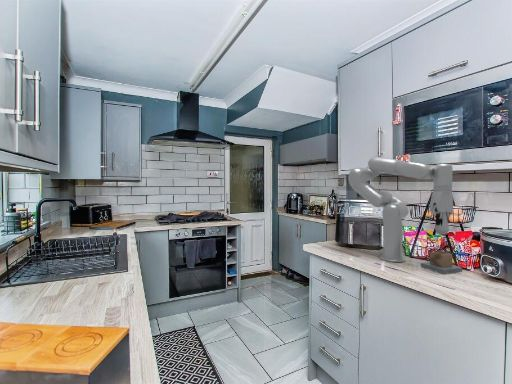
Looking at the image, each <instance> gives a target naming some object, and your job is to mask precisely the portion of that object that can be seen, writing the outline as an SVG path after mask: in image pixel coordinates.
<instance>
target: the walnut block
mask: <svg viewBox="0 0 512 384" xmlns="http://www.w3.org/2000/svg"><path fill="white" fill-rule="evenodd" d="M429 262H430V264H431V265H435V266H438V267H441V268H445V267H452V265H453V253H449V252H444V251H430V252H429Z"/></svg>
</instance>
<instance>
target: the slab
mask: <svg viewBox="0 0 512 384" xmlns="http://www.w3.org/2000/svg"><path fill="white" fill-rule="evenodd" d="M420 267H421V268H423V269H426V270H430V271H432V272H436V273H439V274H442V275H450V274H456V273H462V272H463V267H461V266H458V265H454V264H452V267H445V268H441V267H438V266H435V265H431V264H430V261H427V262H426V261H425V262H421V263H420Z"/></svg>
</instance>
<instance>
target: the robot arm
mask: <svg viewBox="0 0 512 384" xmlns="http://www.w3.org/2000/svg"><path fill="white" fill-rule="evenodd" d="M382 174H387V175H393V176H402V177H406V178H413V179H419V180H431V179H433V188H432V189H433V192H432V193H431V197H430V198H431V199H430V207H429V210H430V213H431V214H432V215H433V216H434V219H435V225H440V223H441V226H442V222H443V219H442V212H445V210H447V211H448V212H446V215H447V221H448V222H449V219H450V216H451V215H452V214H453V212H454V211H453V210H454V197H453V165H452V164H451V163H437V164H435V165H434V164H427V163H418V162H411V161H406V160H405V161H404V160H402V159H396V158H388V157H380V156H373V157H371V158H370V159H369V160H368V161H367V166H366V167H355V168H353V169H351V170H350V171H349V173H348V183H349V185H350V187H351V189H352V190H354V192H356V193H357V194H358V195H360V197H362V198H363V199H364V200H366V201H367V202H368V203H369V204H371V206H373V207H374V208H382V212H381V215H382V220H383V221H382V224H383V227H382V228H383V229H382V230H383V234H382V235H383V246H382V248H380V249H379V250H378V252H379V253H380V254H381V255H379V259H380V260H382V261H385V262H389V263H405V262H406V257H404V256H403V236H404V235H403V229H404V228H403V226H404V225H403V220H402V219H405V218H406V217H407V216H408V214H409V208H408V206H407V204H405V203H404V202H403V201H402V200H400V199H399V198H398V197H396V196H395V195H394V194H392V193H390V192H388V191H385V190H379V189H377V188H376V187H375V186H373V185H372V184H370V183H369V181H371V180H373V179H375V178H377V177H379V176H380V175H382ZM438 213H439V214H438Z"/></svg>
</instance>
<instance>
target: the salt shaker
mask: <svg viewBox="0 0 512 384" xmlns="http://www.w3.org/2000/svg"><path fill="white" fill-rule="evenodd" d="M446 212H448V211H447V210H445V212H442V219H443V222H442V226H441V223H440V225H436V224H435V226H434V229H435V233H436V234H438V235H447V234H448V233H449V231H450V228H449V220H448V221H447V215H446ZM438 214H439V213H438Z"/></svg>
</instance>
